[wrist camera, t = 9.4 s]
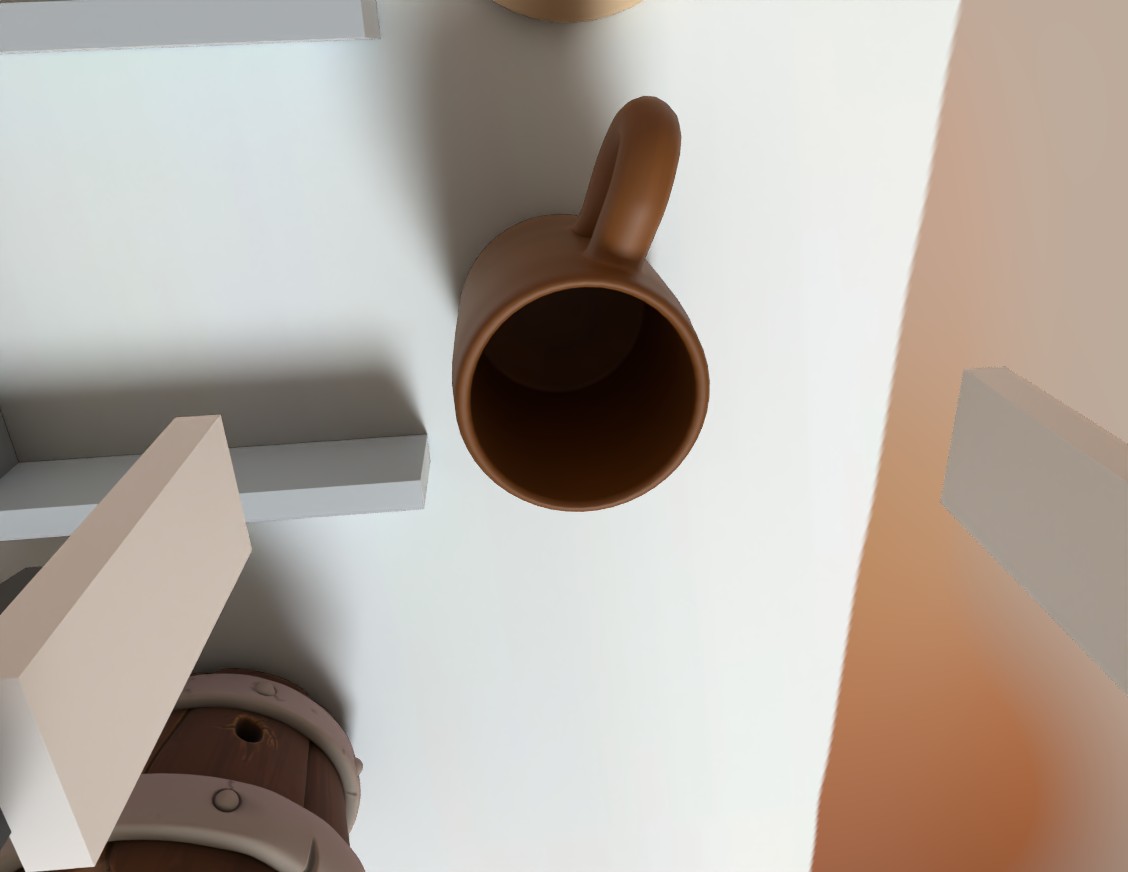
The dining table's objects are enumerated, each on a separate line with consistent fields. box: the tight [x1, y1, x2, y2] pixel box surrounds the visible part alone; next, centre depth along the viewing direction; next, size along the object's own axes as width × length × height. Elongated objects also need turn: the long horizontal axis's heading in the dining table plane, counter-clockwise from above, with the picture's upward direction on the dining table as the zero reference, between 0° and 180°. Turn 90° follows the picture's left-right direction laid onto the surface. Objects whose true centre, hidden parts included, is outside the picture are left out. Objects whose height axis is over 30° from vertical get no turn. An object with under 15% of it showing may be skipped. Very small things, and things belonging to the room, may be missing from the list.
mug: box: [452, 96, 710, 512], centre depth 27 cm, size 12×8×9 cm, turn 165°
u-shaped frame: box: [0, 0, 430, 541], centre depth 28 cm, size 17×17×4 cm
